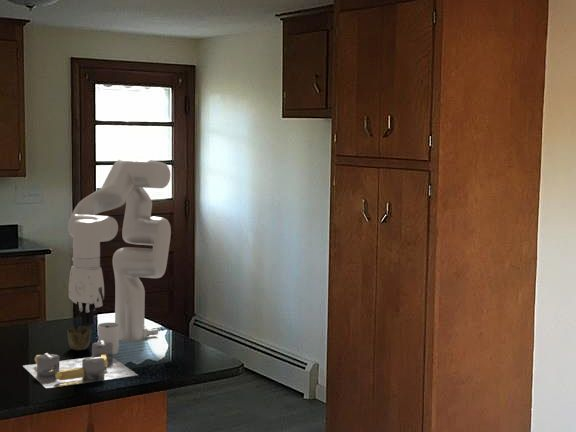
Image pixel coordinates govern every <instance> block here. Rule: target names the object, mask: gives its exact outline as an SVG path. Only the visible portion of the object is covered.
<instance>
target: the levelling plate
mask: <svg viewBox="0 0 576 432" xmlns="http://www.w3.org/2000/svg"><path fill="white" fill-rule="evenodd" d="M86 358H92V356H90V357H83V358H75V359H66V360H59V370H67V369H74V368H82V360H83V359H86ZM22 367H23V368H24V369H25V371H27V372H29V374H30V375H32V377H33V378H34V379H36V381H38V383H39V384H40V385H42V386H43V387H44V388H45V389H51V388H52V389H53V388H58V387H64V386H65V387H66V386H73V385H80V384H86V383H94V382H96V381H85V380H83V379H82V378H75V379H68V380H61V381H60V380H58V379H56V377H52V378H41V377H38V376H37V364H36V363H35V364H34V363H33V364H25V365H22ZM136 376H138V374H137V373H136V372H135V371H133V370H132V369H130V368H129V367H127V366H126V365H124V364H123V363H122V362H120V361H119V360H117V359H116V358H114V357H113V361H112V362H109V363H108V365H107V367H105V372H104V379H103V380H100V381H107V380H116V379H121V378H128V377H136ZM100 381H99V382H100Z"/></svg>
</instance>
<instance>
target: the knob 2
mask: <svg viewBox="0 0 576 432" xmlns="http://www.w3.org/2000/svg"><path fill="white" fill-rule="evenodd" d="M113 355H114V354H113V344H112V343H111V342H104V341H103V340H101V342H98V341H97V342H93V343H91V357H101V358H103V359H104V360H105V367H107V365H108V363H109V362H112V361H113V358H114V357H113Z"/></svg>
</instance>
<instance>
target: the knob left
mask: <svg viewBox="0 0 576 432" xmlns="http://www.w3.org/2000/svg"><path fill="white" fill-rule="evenodd" d="M91 357H92V356H91ZM85 358H86V359H83V360H82V368H74V369H67V370H59V372H57V373H56V374H55V377H56V379H58V380H60V381H61V380H68V379H75V378H82V379H83V380H85V381H95V382H100V380H102V381H104V380H103V379H104V372H105V360H104V359H103V358H101V357H92V358H88V357H85Z"/></svg>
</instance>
